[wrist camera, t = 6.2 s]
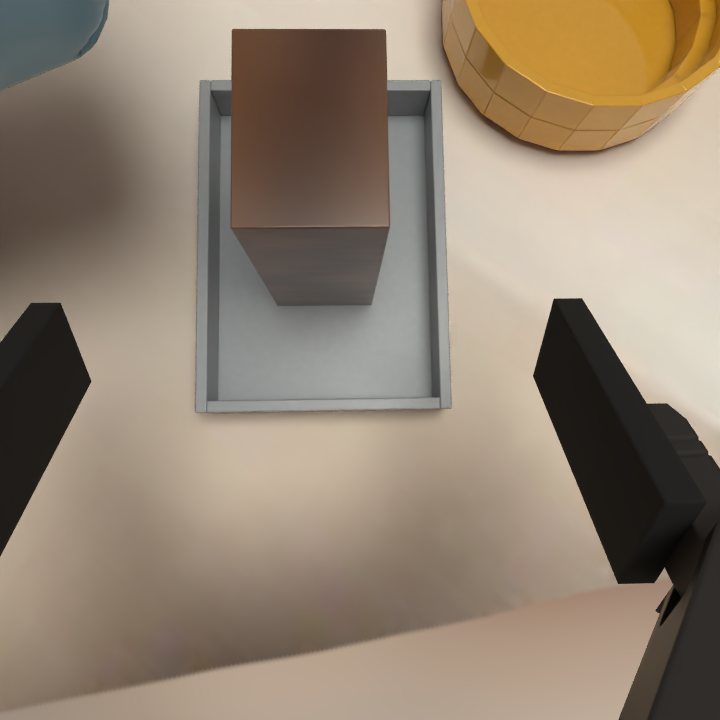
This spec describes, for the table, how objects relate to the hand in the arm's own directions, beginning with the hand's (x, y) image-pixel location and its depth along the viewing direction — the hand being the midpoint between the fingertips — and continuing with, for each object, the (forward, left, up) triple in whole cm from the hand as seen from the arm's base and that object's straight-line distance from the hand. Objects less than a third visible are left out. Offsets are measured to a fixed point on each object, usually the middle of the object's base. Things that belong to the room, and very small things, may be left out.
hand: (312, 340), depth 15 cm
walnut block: (0, +6, -11) cm, 13 cm away
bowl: (+12, +17, -11) cm, 24 cm away
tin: (0, +6, -11) cm, 12 cm away
